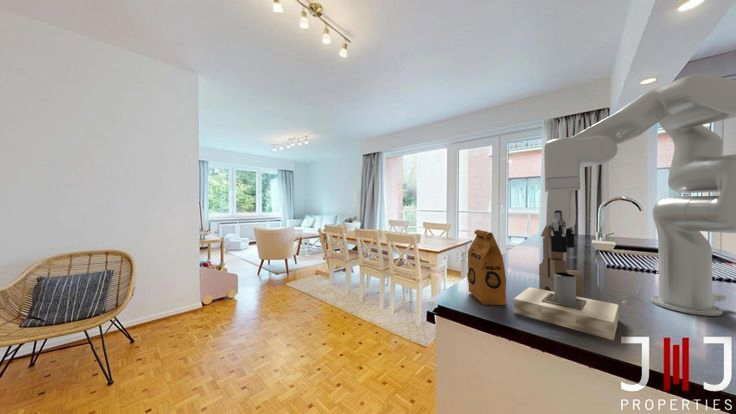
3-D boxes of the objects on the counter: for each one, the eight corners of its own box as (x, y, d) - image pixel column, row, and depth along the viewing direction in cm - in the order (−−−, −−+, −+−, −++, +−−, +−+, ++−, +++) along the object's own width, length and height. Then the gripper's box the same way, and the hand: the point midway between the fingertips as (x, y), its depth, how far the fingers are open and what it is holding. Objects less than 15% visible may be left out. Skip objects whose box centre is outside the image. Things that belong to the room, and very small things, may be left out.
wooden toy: (585, 306, 74) (584, 221, 73) (559, 305, 75) (558, 221, 75) (558, 289, 89) (557, 218, 88) (537, 288, 90) (535, 218, 90)
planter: (580, 316, 65) (580, 276, 65) (563, 316, 65) (563, 276, 65) (566, 308, 70) (566, 271, 70) (550, 309, 70) (550, 272, 70)
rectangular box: (514, 312, 70) (513, 297, 70) (529, 299, 80) (529, 286, 80) (613, 340, 55) (613, 321, 55) (618, 320, 65) (618, 303, 65)
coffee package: (477, 306, 75) (475, 233, 75) (465, 292, 88) (464, 229, 88) (511, 307, 74) (510, 232, 74) (494, 292, 87) (493, 228, 87)
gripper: (553, 187, 76) (554, 244, 76) (536, 185, 64) (537, 252, 64) (585, 185, 70) (586, 246, 70) (573, 182, 59) (575, 256, 59)
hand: (563, 249), depth 67 cm, fingers open, 9 cm apart
